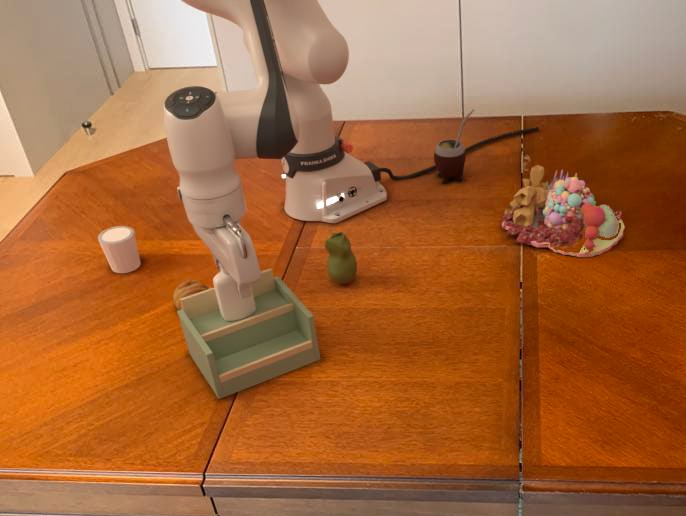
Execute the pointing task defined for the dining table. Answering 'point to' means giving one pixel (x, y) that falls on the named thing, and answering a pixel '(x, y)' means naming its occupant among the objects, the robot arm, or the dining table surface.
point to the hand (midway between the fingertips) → (234, 281)
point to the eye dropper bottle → (231, 297)
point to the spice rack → (249, 336)
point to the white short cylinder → (120, 248)
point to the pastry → (187, 291)
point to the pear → (340, 259)
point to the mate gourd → (451, 157)
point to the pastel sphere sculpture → (560, 215)
